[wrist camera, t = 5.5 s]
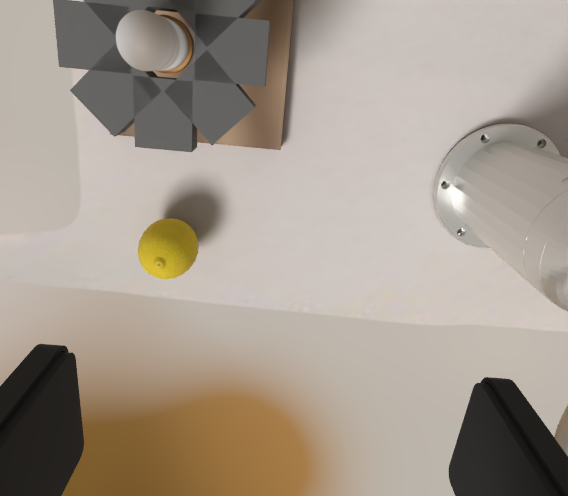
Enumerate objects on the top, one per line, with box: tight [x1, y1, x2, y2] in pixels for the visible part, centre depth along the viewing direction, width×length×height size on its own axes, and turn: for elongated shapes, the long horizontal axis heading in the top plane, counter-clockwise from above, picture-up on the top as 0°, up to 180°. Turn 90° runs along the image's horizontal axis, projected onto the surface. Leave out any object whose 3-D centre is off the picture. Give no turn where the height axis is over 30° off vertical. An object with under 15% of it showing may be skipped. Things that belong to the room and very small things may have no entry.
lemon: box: [138, 218, 198, 279], centre depth 44 cm, size 6×6×8 cm
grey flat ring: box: [53, 0, 270, 152], centre depth 29 cm, size 13×13×2 cm
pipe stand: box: [110, 0, 294, 150], centre depth 33 cm, size 16×16×18 cm
